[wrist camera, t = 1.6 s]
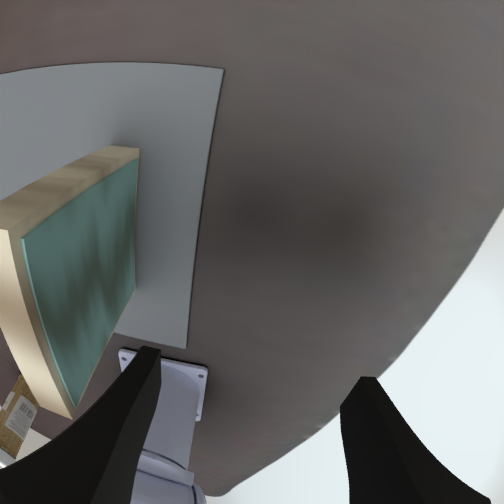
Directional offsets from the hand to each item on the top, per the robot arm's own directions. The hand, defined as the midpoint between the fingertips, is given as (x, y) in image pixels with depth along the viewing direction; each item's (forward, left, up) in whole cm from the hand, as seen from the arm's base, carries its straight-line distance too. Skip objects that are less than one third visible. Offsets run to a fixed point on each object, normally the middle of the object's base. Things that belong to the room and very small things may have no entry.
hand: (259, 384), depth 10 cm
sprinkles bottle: (-26, +25, -11) cm, 38 cm away
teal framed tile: (0, +9, -10) cm, 13 cm away
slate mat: (0, +15, -10) cm, 18 cm away
